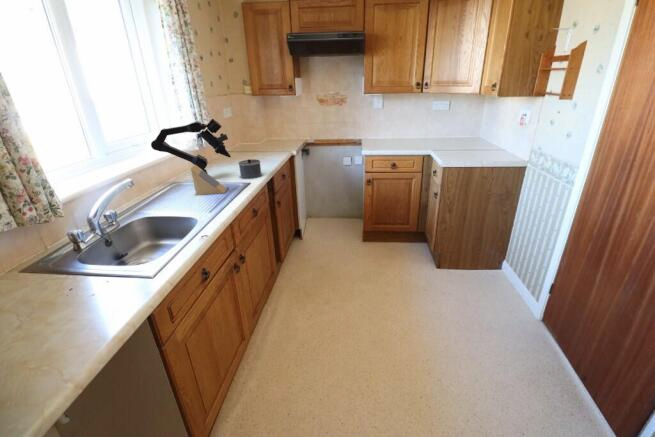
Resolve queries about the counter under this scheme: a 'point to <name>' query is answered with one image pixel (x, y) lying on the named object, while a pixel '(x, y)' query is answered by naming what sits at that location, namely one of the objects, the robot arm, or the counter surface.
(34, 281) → the counter surface
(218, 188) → the sandwich container
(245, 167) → the stockpot
